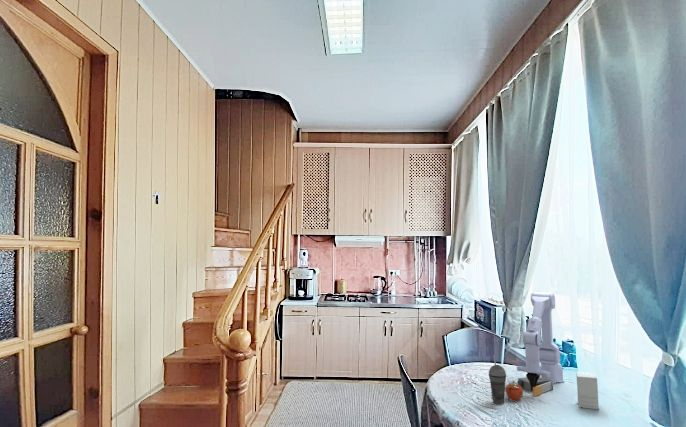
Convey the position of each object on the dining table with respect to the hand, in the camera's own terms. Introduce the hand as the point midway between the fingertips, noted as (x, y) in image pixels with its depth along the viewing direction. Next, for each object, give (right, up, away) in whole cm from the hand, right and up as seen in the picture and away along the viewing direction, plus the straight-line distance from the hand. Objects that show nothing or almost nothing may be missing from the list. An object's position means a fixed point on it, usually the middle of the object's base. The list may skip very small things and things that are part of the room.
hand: (533, 390), depth 201 cm
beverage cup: (-19, -2, -9) cm, 21 cm away
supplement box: (+17, -1, -14) cm, 22 cm away
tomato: (-11, -2, -5) cm, 12 cm away
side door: (+5, -2, +2) cm, 6 cm away
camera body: (+5, -3, +10) cm, 11 cm away
